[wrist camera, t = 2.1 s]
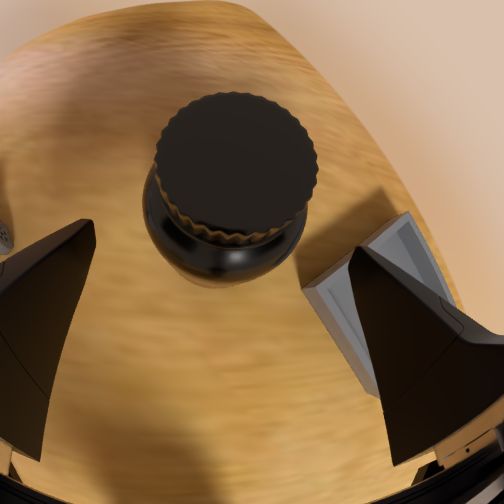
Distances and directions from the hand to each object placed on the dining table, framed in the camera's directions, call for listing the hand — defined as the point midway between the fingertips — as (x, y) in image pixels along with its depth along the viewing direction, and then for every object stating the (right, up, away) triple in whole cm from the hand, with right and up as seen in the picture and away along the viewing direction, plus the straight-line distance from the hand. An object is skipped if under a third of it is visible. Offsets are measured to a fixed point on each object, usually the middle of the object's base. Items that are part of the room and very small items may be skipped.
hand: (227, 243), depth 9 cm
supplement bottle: (-2, +1, +10) cm, 10 cm away
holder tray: (+11, -4, +12) cm, 17 cm away
